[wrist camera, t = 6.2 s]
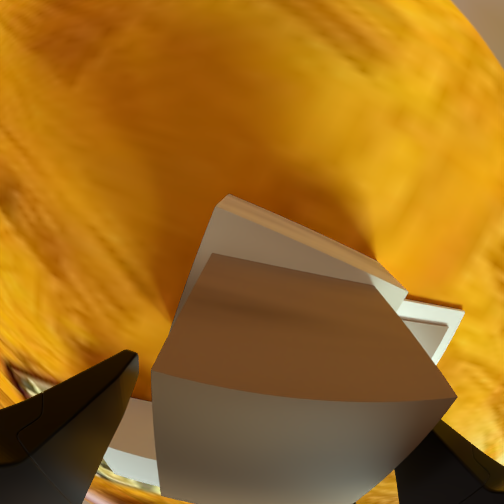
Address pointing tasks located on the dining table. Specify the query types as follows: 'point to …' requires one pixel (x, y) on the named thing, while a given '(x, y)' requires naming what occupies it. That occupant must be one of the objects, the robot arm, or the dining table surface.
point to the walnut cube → (287, 389)
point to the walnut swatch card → (430, 325)
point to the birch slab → (284, 249)
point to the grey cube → (134, 445)
